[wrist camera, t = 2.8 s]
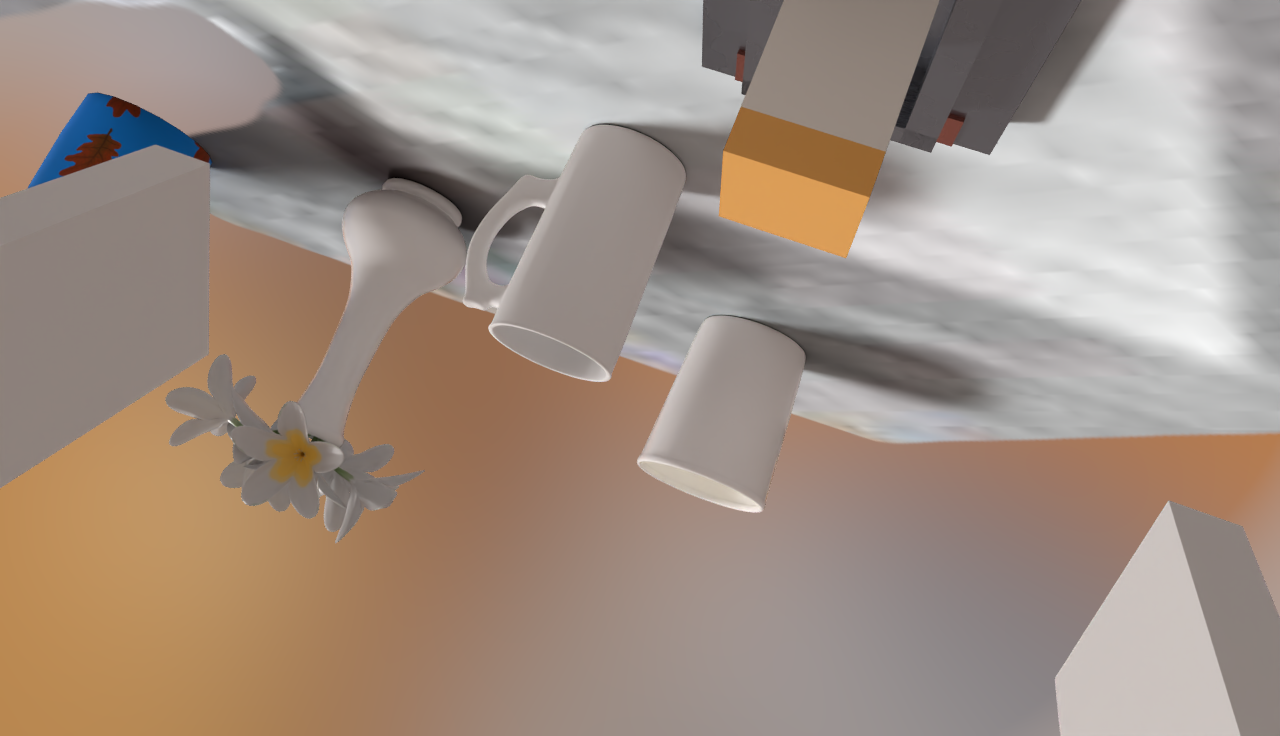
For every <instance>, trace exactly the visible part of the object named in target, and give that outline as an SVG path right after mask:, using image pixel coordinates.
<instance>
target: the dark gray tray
mask: <svg viewBox="0 0 1280 736" xmlns="http://www.w3.org/2000/svg"><path fill="white" fill-rule="evenodd" d="M783 1H784V0H703V44H702V67H705V68H709V69H712V70H715V71H718V72H722V73H725V74H728V75H731V76H735V80H737V81H741V82H742V93H741V94H743V95H746V93H747V91H748V88H749V86H750V83H751V81H752V78H753V76H754V73H755V71H756V68H757V66H758V63H759V61H760V58H761V56H762V53H763V51H764V48H765V46H766V43H767V41H768V38H769V36H770V33H771V31H772V28H773V26H774V24H775V21H776V19H777V16H778V14H779V11H780V9H781V6H782V4H783ZM1080 1H1081V0H939V3H938V6H937V9H936V12H935V15H934V17H933V20H932V23H931V26H930V29H929V31H928V34H927V37H926V40H925V43H924V46H923V48H922V51H921V54H920V57H919V60H918V63H917V65H916V68H915V71H914V74H913V77H912V79H911V82H910V85H909V88H908V91H907V94H906V96H905V99H904V102H903V105H902V108H901V110H900V113H899V116H898V119H897V122H896V125H895V127H894V130H893V133H892V136H891V139H890V140H892V141H895V142H898V143H901V144H905V145H908V146H911V147H914V148H918V149H921V150H924V151H927V152H930V153H931V152H932V149H933V147H934V145H935V143H936V142H939V143H942V144H945V145H948V146H952V145H953V144H956V145H959V146H962V147H965V148H969V149H972V150H975V151H978V152H982V153H985V154H988V155H990V154H991V152H992V150H993V148H994V147H995V145H996V143H997V142H998V140H999V138H1000V137H1001V135H1002V133H1003V132H1004V130H1005V128H1006V126H1007V125H1008V123H1009V121H1010V120H1011V118H1012V116H1013V115H1014V113H1015V111H1016V110H1017V108H1018V106H1019V105H1020V103H1021V101H1022V99H1023V98H1024V96H1025V94H1026V93H1027V91H1028V89H1029V88H1030V86H1031V84H1032V83H1033V81H1034V79H1035V78H1036V76H1037V74H1038V72H1039V71H1040V69H1041V67H1042V66H1043V64H1044V62H1045V61H1046V59H1047V57H1048V56H1049V54H1050V52H1051V50H1052V49H1053V47H1054V45H1055V44H1056V42H1057V40H1058V39H1059V37H1060V35H1061V34H1062V32H1063V30H1064V29H1065V27H1066V25H1067V23H1068V22H1069V20H1070V18H1071V17H1072V15H1073V13H1074V12H1075V10H1076V8H1077V7H1078V5H1079V3H1080Z"/></svg>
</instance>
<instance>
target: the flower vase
mask: <svg viewBox="0 0 1280 736" xmlns="http://www.w3.org/2000/svg"><path fill="white" fill-rule="evenodd" d="M461 223H462V215H461V213H460V211H459V210H458V208H457V207H456V206H455V205H454V204H453V203H451V202H450V201H449V200H448V199H446V198H445V197H443V196H442V195H441V194H439V193H437V192H435V191H434V190H432V189H430V188H428V187H426V186H423V185H421V184H419V183H416V182H413V181H410V180H406V179H402V178H391V179H388V180H387V181H386V182H385V183H384V184H383V185H382V189H381V190H373V191H369V192H365V193H363V194H361V195H359V196H357V197H355V198H354V199H353V200H352V201H351V202H350V203H349V204H348V205H347V207H346V208H345V211H344V215H343V220H342V231H343V237H344V242H345V245H346V248H347V251H348V254H349V257H350V260H351V270H352V272H351V273H352V274H351V287H350V293H349V297H348V301H347V304H346V307H345V310H344V313H343V315H342V318H341V320H340V323H339V325H338V328H337V330H336V332H335V334H334V336H333V339H332V341H331V343H330V345H329V348H328V350H327V352H326V355H325V357H324V359H323V361H322V363H321V365H320V367H319V369H318V371H317V373H316V374H315V376H314V378H313V379H312V381H311V383H310V384H309V386H308V387H307V389H306V390H305V392H304V393H303V394H302V396H301V397H300V399H299V400H298V401H297V402H293V401H289V402H287V403H285V404H284V405H283V407H282V408H281V410H280V412H279V415H278V419H277V420H276V421H275V422H274V424H273V425H272V426H271V428H269V426H268V425H267V424H266V423H265V422H264V421H263V420H262V419H261V418H260V417H259V416H257V415H256V414H255V413H254V412H253V411H252V410H251V409H250V407H249V406H248V405H247V404H246V402H245V401H244V400H245V398H246V397H247V396H248V394H249V393H250V392H251V391H252V389H253V387H254V386H255V383H256V378H255V377H254V376H247V377H245V378H242V379H241V380H239V381H238V382H237V383H236V385H235V386H234V387H233V383H232V366H231V361H230V360H229V357H228V356H227V355H225V354H223V355H220V356H218V357H217V358H216V359H215V361H214V362H213V364H212V366H211V368H210V370H209V374H208V388H209V391H210V393H211V394H212V395H213V397H214V398H213V397H212V396H210V395H209V394H208V393H206V392H205V391H202V390H200V389H196V388H190V387H183V388H178V389H174V390H173V391H171V392H169V393H168V395H167V397H166V403H167V405H168V406H169V407H170V408H171V409H173V410H174V411H177V412H179V413H182V414H185V415H188V416H191V417H194V418H197V419H192V420H189V421H186V422H185V423H183V424H182V425H180V426H179V427H178V428H177V429H176V430H175V432H174V433H173V434H172V436H171V438H170V441H169V443H170V445H171V446H178V445H181V444H183V443H186V442H187V441H189V440H191V439H193V438H195V437H197V436H199V435H201V434H203V433H206V432H209V431H211V433H212V434H214V435H216V436H222V435H224V434H225V433H226V432H227V433H228V435H229V437H230V438H231V440H232V441H233V443H234V444H233V458H234V462H232V463H230V464H229V465H228V466H227V467H226V468H225V469H224V470H223V472H222V474H221V477H220V481H221V482H222V484H223V485H224V486H226V487H229V488H239V487H242V493H241V498H242V501H244V503H245V504H246V505H249V506H255V505H259V504H262V503H264V502H266V501H268V502H269V503H270V505H271V506H272V507H273V508H274V509H275V510H276V511H279V512H280V511H285V510H286V509H287V508H288V507H289V504H290V502H291V503H292V505H293V506H294V508H295V509H296V511H297V512H298V513H299V514H300V515H302V516H303V517H305V518H309V519H310V518H312V517H315V516H316V514H317V513H318V510H319V498H320V496H322V495H324V494H325V495H326V503H325V508H324V523H325V527H326V529H327V530H328V531H332V532H334V531H337V530H338V529H340V531H339V533H338V536H337V538H336V541H335V543H337V542H339V540H341V539H342V538H343V537H344V536H345V535H346V534H347V533H348V532H349V531H350V530H351V528H352V527H353V526H354V525H355V523H356V522H357V521H358V519H359V517H360V515H361V513H362V512H363V510H364V507H366V508H367V509H369V510H377V509H380V508H387V507H388V506H390V504H391V503H392V502H393V500H394V498H395V497H396V495H397V492H396V491H395V490H396V489H397V488H399V486H398V485H400V484H403V483H405V482H407V481H410V480H411V479H413V478H415V477H416V476H418V475H419V474H421V473H423V472H424V470H423V471H418V472H413V473H408V474H403V475H397V476H391V477H382V478H375V477H373V476H372V475H370V474H368V473H366V472H374V471H376V470H378V469H380V468H381V467H383V466H384V465H386V464H387V462H388V461H390V459H391V458H392V456H393V454H394V448H393V447H392V446H391V445H389V444H384V445H379V446H375V447H373V448H371V449H368V450H366V451H364V452H362V453H360V454H355V455H353V454H354V451H353V448H352V446H351V444H350V443H349V442H348V441H347V440H345V439H344V436H343V435H344V428H345V424H346V420H347V417H348V413H349V410H350V407H351V403H352V401H353V398H354V395H355V393H356V390H357V387H358V386H359V383H360V381H361V379H362V377H363V375H364V373H365V371H366V370H367V368H368V366H369V364H370V362H371V360H372V358H373V356H374V354H375V352H376V351H377V349H378V347H379V345H380V343H381V341H382V339H383V338H384V336H385V334H386V332H387V331H388V329H389V328H390V326H391V324H392V323H393V322H394V320H395V319H396V318H397V316H398V315H399V314H400V313H401V312H402V311H403V310H404V309H405V308H406V307H407V306H408V305H409V304H410V303H411V302H413V301H414V300H415V299H416V298H418V297H419V296H421V295H423V294H425V293H428V292H431V291H434V290H436V289H439V288H441V287H443V286H445V285H447V284H448V283H450V282H452V281H453V280H454V279H455V278H456V277H457V276H458V275H459V274H460V273H461V272H462V270H463V269H464V267H465V265H466V258H467V247H466V243H465V240H464V238H463V236H462V233H461V231H460V230H459V228H458V227H459V226H460V225H461ZM236 414H237V416H238V418H239V420H240V421H238V420H237V419H236V418H235V416H236ZM309 438H311V439H312V441H311V442H310V441H309ZM349 492H350V493H349Z"/></svg>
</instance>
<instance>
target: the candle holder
mask: <svg viewBox="0 0 1280 736" xmlns="http://www.w3.org/2000/svg"><path fill="white" fill-rule="evenodd" d="M805 361H806V356H805V353H804V351H803V349H802V348H801V347H800V346H799V345H798V344H797V343H796V342H795V341H793V340H792V339H790V338H789V337H787V336H786V335H784V334H782V333H780V332H778V331H776V330H774V329H772V328H770V327H768V326H765V325H763V324H760V323H757V322H754V321H751V320H747V319H743V318H739V317H733V316H724V315H717V316H711V317H708V318H706V319H705V320H704V321H703V323H702V324H701V326H700V328H699V330H698V332H697V334H696V336H695V338H694V340H693V342H692V345H691V347H690V349H689V351H688V353H687V355H686V357H685V360H684V362H683V364H682V366H681V368H680V370H679V373H678V375H677V377H676V379H675V381H674V384H673V386H672V388H671V390H670V392H669V394H668V397H667V399H666V401H665V403H664V405H663V408H662V410H661V412H660V414H659V416H658V419H657V421H656V423H655V425H654V427H653V429H652V432H651V434H650V436H649V438H648V440H647V442H646V445H645V447H644V449H643V451H642V453H641V455H640V456H639V457H638V460H637V464H638V466H639V467H640V468H641V469H642V470H644V471H645V472H646V473H648V474H649V475H651V476H653V477H654V478H656V479H658V480H660V481H662V482H664V483H666V484H668V485H670V486H672V487H674V488H676V489H679V490H681V491H683V492H686V493H688V494H690V495H693V496H696V497H698V498H701V499H704V500H706V501H709V502H712V503H715V504H719V505H722V506H725V507H729V508H732V509H736V510H741V511H746V512H755V513H756V512H762V511H763V510H764V509H765V505H766V499H767V495H768V491H769V488H770V484H771V481H772V477H773V474H774V470H775V467H776V464H777V460H778V457H779V453H780V450H781V447H782V443H783V439H784V436H785V433H786V429H787V426H788V422H789V419H790V415H791V412H792V409H793V405H794V402H795V398H796V395H797V391H798V388H799V384H800V381H801V377H802V373H803V370H804V366H805Z"/></svg>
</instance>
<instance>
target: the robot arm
mask: <svg viewBox="0 0 1280 736" xmlns="http://www.w3.org/2000/svg"><path fill="white" fill-rule="evenodd" d="M209 218H210V163H207V162H204V161H201V160H198V159H195V158H193V157H190V156H187V155H184V154H181V153H178V152H176V151H173V150H170V149H167V148H164V147H161V146H158V145H153V146H150V147H147V148H144V149H141V150H138V151H135V152H132V153H130V154H127V155H124V156H121V157H118V158H115V159H112V160H109V161H106V162H103V163H100V164H98V165H95V166H92V167H89V168H86V169H83V170H80V171H77V172H74V173H71V174H68V175H66V176H63V177H60V178H57V179H54V180H51V181H48V182H45V183H42V184H39V185H36V186H34V187H31V188H28V189H25V190H22V191H19V192H16V193H13V194H11V195H7V196H4V197H2V198H0V488H1V487H2V486H4V485H6V484H7V483H9V482H10V481H12V480H13V479H15V478H17V477H18V476H20V475H21V474H23V473H24V472H26V471H28V470H29V469H31V468H32V467H34V466H35V465H37V464H38V463H40V462H42V461H43V460H45V459H46V458H48V457H49V456H51V455H52V454H54V453H56V452H57V451H59V450H60V449H62V448H63V447H65V446H67V445H68V444H70V443H71V442H73V441H74V440H76V439H77V438H79V437H81V436H82V435H84V434H85V433H87V432H88V431H90V430H91V429H93V428H95V427H96V426H98V425H99V424H101V423H102V422H104V421H105V420H107V419H109V418H110V417H112V416H113V415H115V414H116V413H118V412H120V411H121V410H122V409H124V408H126V407H127V406H129V405H130V404H132V403H134V402H135V401H137V400H138V399H140V398H141V397H143V396H144V395H146V394H147V393H149V392H151V391H152V390H154V389H155V388H157V387H159V386H160V385H162V384H163V383H165V382H166V381H168V380H169V379H171V378H173V377H174V376H176V375H177V374H179V373H180V372H181V371H183V370H185V369H186V368H188V367H190V366H191V365H193V364H194V363H196V362H197V361H199V360H200V359H202V358H204V357H205V356H207V355H208V354H209V221H210V219H209ZM1055 685H1056V695H1057V705H1058V716H1059V726H1060V736H1280V617H1279V615H1278V612H1277V610H1276V607H1275V605H1274V602H1273V600H1272V597H1271V595H1270V592H1269V590H1268V588H1267V585H1266V583H1265V580H1264V578H1263V575H1262V573H1261V570H1260V568H1259V565H1258V563H1257V560H1256V558H1255V556H1254V553H1253V551H1252V548H1251V546H1250V543H1249V541H1248V538H1247V536H1246V533H1245V531H1244V528H1243V527H1242V526H1240V525H1237V524H1234V523H1231V522H1228V521H1226V520H1223V519H1220V518H1217V517H1214V516H1211V515H1208V514H1206V513H1203V512H1200V511H1197V510H1194V509H1191V508H1189V507H1185V506H1183V505H1180V504H1177V503H1174V502H1172V501H1168V502H1167V504H1166V505H1165V507H1164V509H1163V510H1162V511H1161V513H1160V515H1159V516H1158V518H1157V519H1156V521H1155V522H1154V524H1153V526H1152V527H1151V529H1150V530H1149V532H1148V534H1147V535H1146V537H1145V538H1144V540H1143V541H1142V543H1141V544H1140V546H1139V547H1138V549H1137V551H1136V552H1135V554H1134V555H1133V557H1132V558H1131V560H1130V562H1129V563H1128V565H1127V567H1126V568H1125V569H1124V571H1123V573H1122V574H1121V576H1120V577H1119V579H1118V580H1117V582H1116V583H1115V585H1114V587H1113V588H1112V590H1111V591H1110V593H1109V594H1108V596H1107V598H1106V599H1105V601H1104V602H1103V604H1102V605H1101V607H1100V609H1099V610H1098V612H1097V613H1096V615H1095V616H1094V618H1093V620H1092V621H1091V623H1090V624H1089V626H1088V627H1087V629H1086V631H1085V632H1084V634H1083V635H1082V637H1081V638H1080V640H1079V641H1078V643H1077V645H1076V646H1075V648H1074V649H1073V651H1072V652H1071V654H1070V655H1069V657H1068V659H1067V660H1066V662H1065V664H1064V665H1063V666H1062V668H1061V670H1060V671H1059V673H1058V674H1057V676H1056V677H1055Z"/></svg>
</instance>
